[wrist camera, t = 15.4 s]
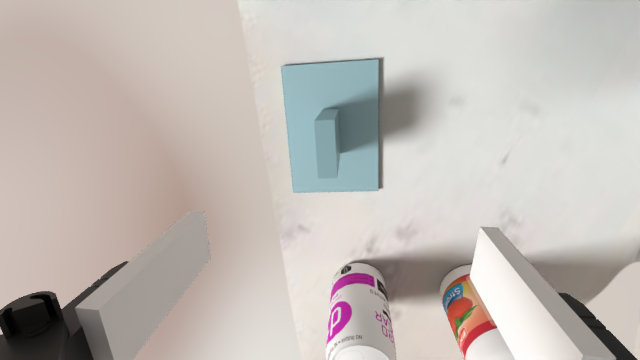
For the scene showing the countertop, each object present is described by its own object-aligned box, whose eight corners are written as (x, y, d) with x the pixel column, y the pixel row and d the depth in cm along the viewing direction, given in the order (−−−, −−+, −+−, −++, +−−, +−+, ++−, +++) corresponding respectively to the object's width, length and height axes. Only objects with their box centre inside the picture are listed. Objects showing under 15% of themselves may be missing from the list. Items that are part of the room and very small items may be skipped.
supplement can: (322, 286, 49) (311, 372, 35) (352, 250, 46) (352, 329, 32) (364, 311, 50) (369, 405, 36) (395, 277, 47) (413, 365, 33)
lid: (282, 66, 39) (257, 63, 28) (377, 59, 37) (387, 54, 27) (294, 190, 44) (276, 226, 34) (377, 188, 43) (385, 225, 32)
